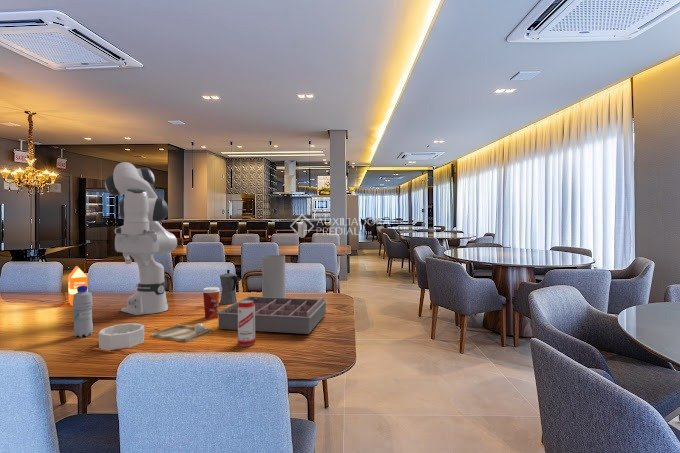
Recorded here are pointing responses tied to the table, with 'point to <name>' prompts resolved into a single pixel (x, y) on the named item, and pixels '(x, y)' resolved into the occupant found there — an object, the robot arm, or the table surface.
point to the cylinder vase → (273, 276)
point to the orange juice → (76, 282)
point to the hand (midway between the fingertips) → (137, 264)
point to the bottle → (82, 312)
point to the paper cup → (211, 302)
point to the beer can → (246, 322)
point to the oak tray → (180, 333)
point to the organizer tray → (278, 314)
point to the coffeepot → (228, 288)
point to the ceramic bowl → (121, 336)
